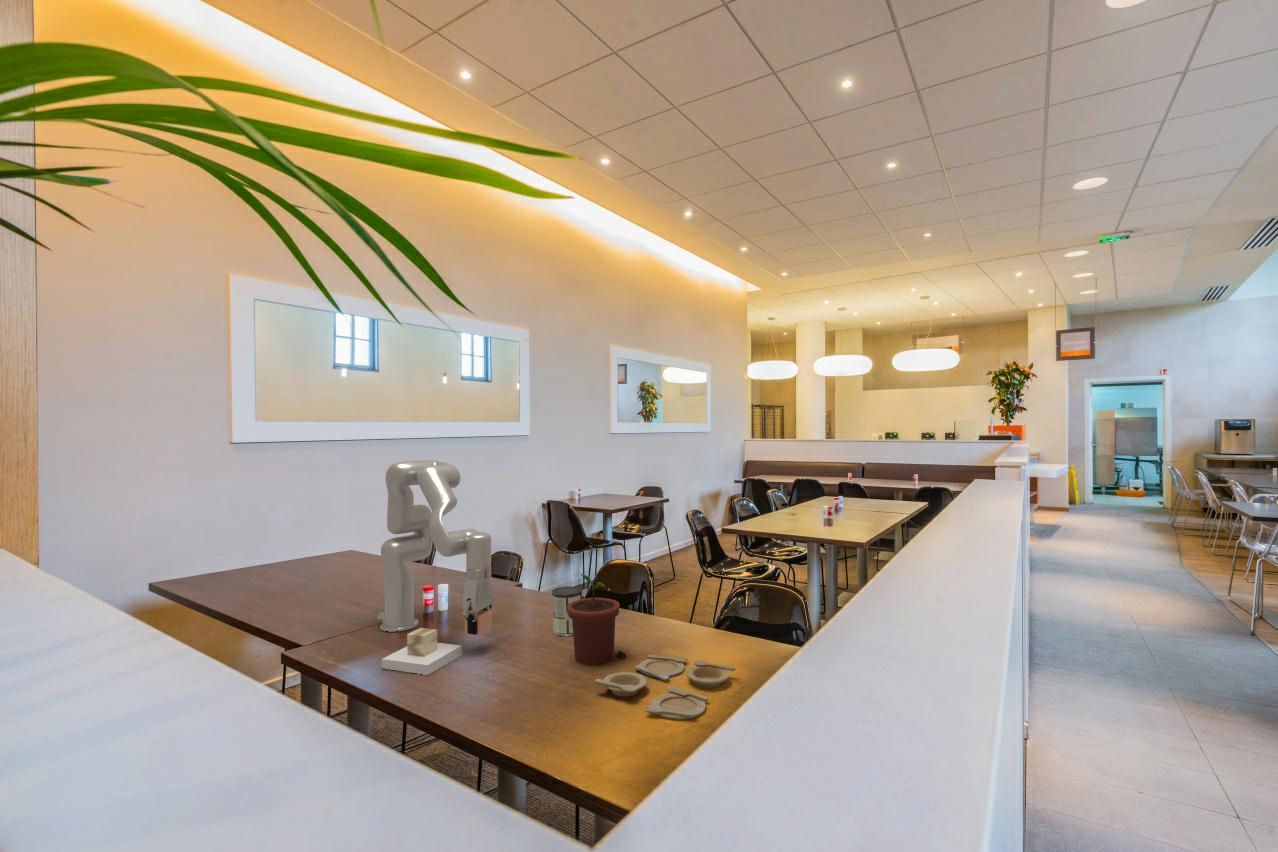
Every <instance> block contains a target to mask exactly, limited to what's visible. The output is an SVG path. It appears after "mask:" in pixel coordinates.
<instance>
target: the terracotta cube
mask: <svg viewBox="0 0 1278 852" xmlns="http://www.w3.org/2000/svg"><path fill="white" fill-rule="evenodd" d="M471 615H472V616H473V615H474V613H471ZM476 621H477V634H476V635H473V634H468V633H467V621H466V618H465V617H464V635H468V636H475V637H483V636H484V635H485V636H486V634H488V633H490V632H491V631H493V610H490V611H487V610H480V611H478V613H477V618H476Z"/></svg>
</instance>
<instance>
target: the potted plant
mask: <svg viewBox="0 0 1278 852" xmlns="http://www.w3.org/2000/svg"><path fill="white" fill-rule="evenodd" d="M580 575H581V576H582V578H583V579H585V581H587V582H588V583H589V584H591V587H592V597H588V598H587V597H586V598H582V599H580V600H576V601H573V602H571V603H569V604H568V606H567V608H568V616H569V618H571V619H572V626H573V636H572V638H573V650H574V660H575V662H577V663H578V664H580V663H581V665H583V664H584V665H585V666H600V665H605V664H607V663H610V662H612V661H613V660H614V657H615V658H616V659H617V660H625V659H626V658H627V654H626V653H625V652H623V651H621V650H619V651H618V652H617V653H616V656H614V653H615V638H616V637H615V636H616V635H615V634H616V632H615V631H616V618H617V617H618V616H619V614H620V607H621V605H620V603H619V601H617V600H616V599H612V598H607V597H606V598H605V597H595V589H596V588H604V587H606V585H605V584H604V583H602V582H597V583H596V585H594V584H593V582H592V581H591V577H589V576H588V575H587V574H584V573H580Z"/></svg>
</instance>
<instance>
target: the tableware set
mask: <svg viewBox="0 0 1278 852" xmlns="http://www.w3.org/2000/svg"><path fill="white" fill-rule="evenodd" d="M646 656H647V657H646V658H647V659H645V660H643V661H641V662H640V663H639V664H638V665H635V666H634V669H635V670H636V671H639V672H640V673H642V674H644V675H645V676H649V677H653V678H658V679H660V680H663V681H666V682H667V681H669V679H670V678H672V677H675V676H678V675H680V674H682V673H683V672H684V671H685V669H686V668H685V665H684V663H687V661H688V660H689V658H688V657H682V656H680V657H679V656H677V657H676V656H675V657H669V656H662V655H655V654H648V655H646ZM693 664H694V665H693V666H692V667H689V668H688V669H687V670H686V673H685V675H686V678H687V679H689V681H692V682H694V684H695V685H696V686H698V687H700V688H705V689H706V688H707V689H713V688H717V687H719V686H721V683H724V682H726V681H727V680H728V679H729V677H730V673H729V671H730V672H732V671H735V670H736V667H735V666H733V665H726V664H720V663H719V664H717V663H711V662H708V661H707V660H702V659H698V660H697V659H696V660H693ZM640 673H636V672H629V671H628V672H627V671H620V672H615V673H611V674H608V675H606V676H605V677H604V678H603V679H601V678H596V679H594V683H595V684H596V685H600V686H603V687H605V688H606V689H608V690H610V691H611V692H612V694H613V695H614V694H615V695H614V696H616V695H617V697H620V696H629V697H632V696H631V695H633V696H635V695H637V694H636V693H638V692H639V690H642V689H643V688H645V686H646V685H647V680H648V679H647V678H646V677H645V676H644V675H642V674H640ZM666 691H668V692H669V693H664V694H661V695H658V696H657V697H655V698H653V700H652V701H651V702H650V704H649V705H647V707H646V709H645V710H644V712H645V713H649V714H653V715H657V716H660V717H663V718H667V719H671V720H690V719H694V717H695V718H697V716H698V717H700V716H701V715H703V714H704V713H705V712H706V708H707V705H706V702H708V701H709V697H708V696H705V695H702V694H699V693H696V692H692V691H690V690H689V691H688V690H686V689H683V688H679V687H676V686H673V685H669V686H667V688H666ZM634 694H635V695H634ZM699 715H700V716H699Z"/></svg>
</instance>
